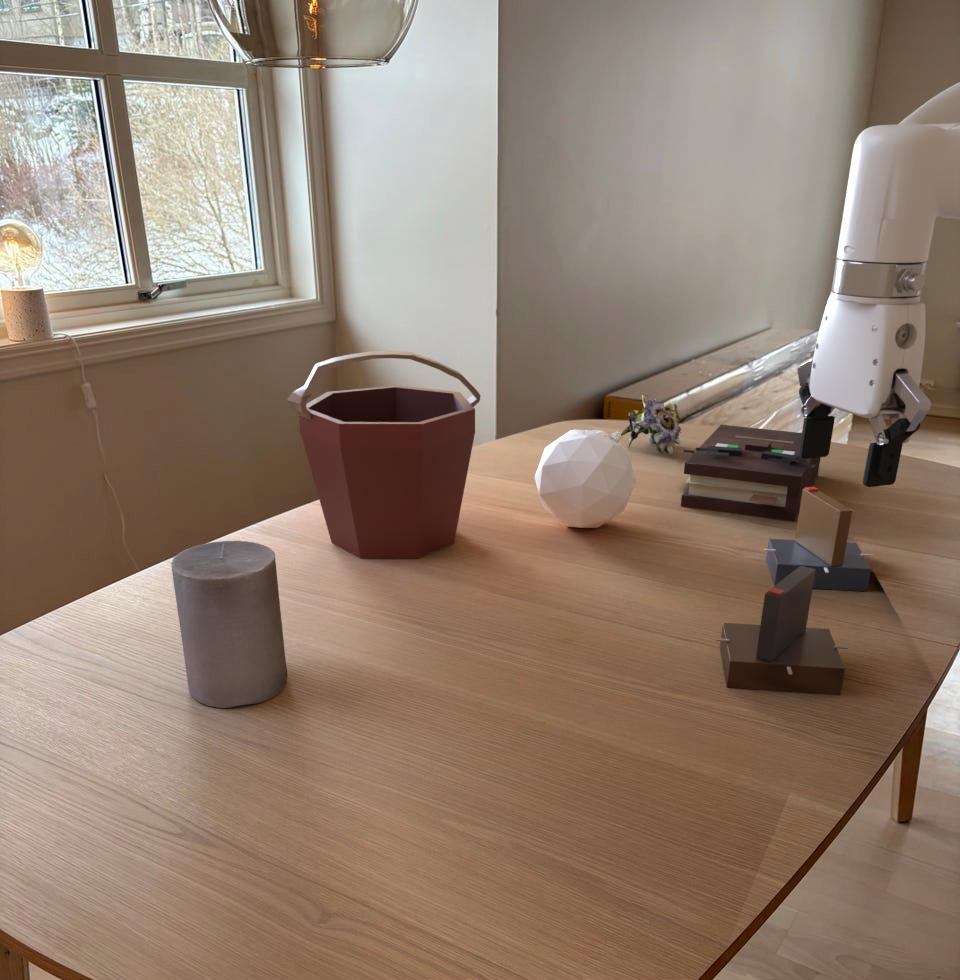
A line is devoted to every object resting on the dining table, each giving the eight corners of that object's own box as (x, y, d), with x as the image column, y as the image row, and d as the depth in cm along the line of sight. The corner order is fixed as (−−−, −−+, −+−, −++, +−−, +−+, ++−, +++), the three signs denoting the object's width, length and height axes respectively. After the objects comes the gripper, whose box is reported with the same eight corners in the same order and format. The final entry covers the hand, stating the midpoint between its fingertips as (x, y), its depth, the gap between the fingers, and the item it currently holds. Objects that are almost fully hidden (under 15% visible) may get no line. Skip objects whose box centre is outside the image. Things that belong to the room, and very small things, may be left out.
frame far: (842, 565, 120) (853, 508, 116) (830, 566, 119) (840, 509, 116) (806, 539, 127) (814, 486, 124) (794, 540, 127) (802, 486, 124)
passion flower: (665, 483, 177) (669, 440, 166) (609, 465, 180) (609, 422, 170) (688, 437, 181) (693, 393, 171) (633, 420, 184) (635, 375, 174)
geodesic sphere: (627, 462, 149) (579, 391, 141) (677, 489, 137) (628, 413, 129) (553, 529, 149) (501, 462, 141) (598, 562, 137) (543, 490, 129)
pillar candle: (232, 655, 105) (216, 521, 98) (307, 675, 100) (295, 537, 94) (167, 695, 97) (144, 552, 90) (245, 719, 93) (227, 571, 86)
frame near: (791, 626, 104) (801, 563, 101) (805, 630, 103) (816, 566, 100) (755, 657, 98) (765, 590, 94) (770, 662, 97) (781, 594, 94)
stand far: (857, 558, 130) (861, 536, 128) (880, 599, 118) (884, 574, 117) (755, 553, 131) (758, 531, 130) (767, 592, 120) (770, 568, 118)
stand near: (831, 645, 107) (836, 619, 105) (856, 706, 95) (861, 677, 94) (708, 638, 108) (711, 612, 107) (717, 697, 97) (720, 668, 95)
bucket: (290, 566, 127) (272, 369, 116) (317, 510, 147) (304, 337, 136) (479, 566, 127) (479, 369, 116) (481, 511, 147) (481, 338, 136)
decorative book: (834, 427, 162) (809, 476, 137) (827, 472, 165) (801, 527, 140) (717, 415, 169) (673, 460, 144) (712, 458, 172) (668, 509, 148)
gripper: (985, 292, 81) (941, 493, 88) (849, 271, 95) (821, 444, 103) (910, 295, 78) (871, 501, 86) (783, 273, 93) (759, 450, 101)
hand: (844, 470), depth 94 cm, fingers open, 9 cm apart
